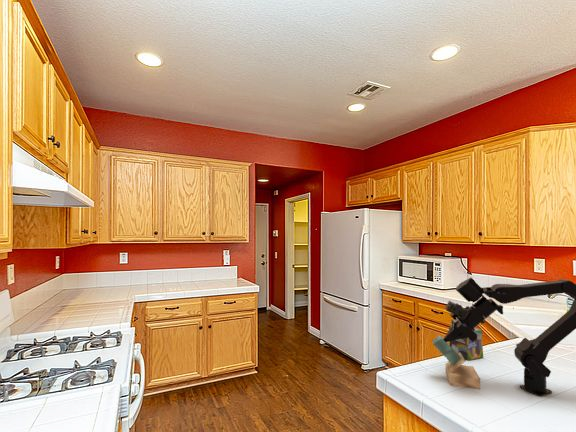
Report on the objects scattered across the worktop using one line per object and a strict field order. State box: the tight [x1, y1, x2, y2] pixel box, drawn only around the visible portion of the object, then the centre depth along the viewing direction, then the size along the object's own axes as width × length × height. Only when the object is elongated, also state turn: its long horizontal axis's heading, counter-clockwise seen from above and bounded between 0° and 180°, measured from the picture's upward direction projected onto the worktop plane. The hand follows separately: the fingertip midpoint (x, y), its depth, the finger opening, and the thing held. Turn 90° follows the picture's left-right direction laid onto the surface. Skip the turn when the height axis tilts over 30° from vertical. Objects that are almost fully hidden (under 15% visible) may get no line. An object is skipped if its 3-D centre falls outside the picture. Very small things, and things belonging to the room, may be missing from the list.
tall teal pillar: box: [431, 335, 466, 372], centre depth 116 cm, size 6×8×10 cm
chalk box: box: [448, 326, 484, 361], centre depth 137 cm, size 9×9×15 cm
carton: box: [445, 362, 481, 390], centre depth 114 cm, size 9×10×4 cm
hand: (444, 340), depth 116 cm, fingers closed, pressing on tall teal pillar
